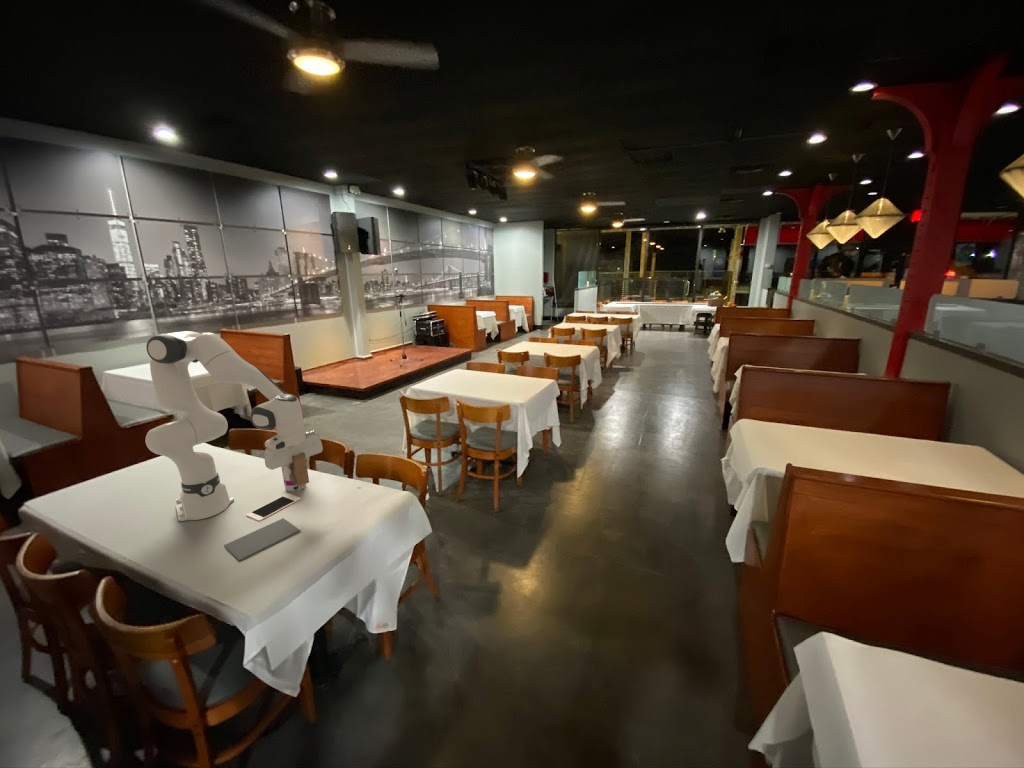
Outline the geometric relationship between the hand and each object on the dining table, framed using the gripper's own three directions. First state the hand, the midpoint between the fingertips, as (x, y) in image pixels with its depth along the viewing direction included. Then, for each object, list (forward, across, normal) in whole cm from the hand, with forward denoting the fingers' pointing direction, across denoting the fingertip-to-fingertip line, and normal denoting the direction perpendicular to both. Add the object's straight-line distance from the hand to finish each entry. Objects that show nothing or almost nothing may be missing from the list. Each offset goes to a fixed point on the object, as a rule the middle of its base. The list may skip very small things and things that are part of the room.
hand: (297, 470), depth 157 cm
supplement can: (+19, -8, -24) cm, 32 cm away
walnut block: (+5, 0, 0) cm, 5 cm away
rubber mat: (+19, +17, +4) cm, 25 cm away
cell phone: (+19, +5, -15) cm, 25 cm away
